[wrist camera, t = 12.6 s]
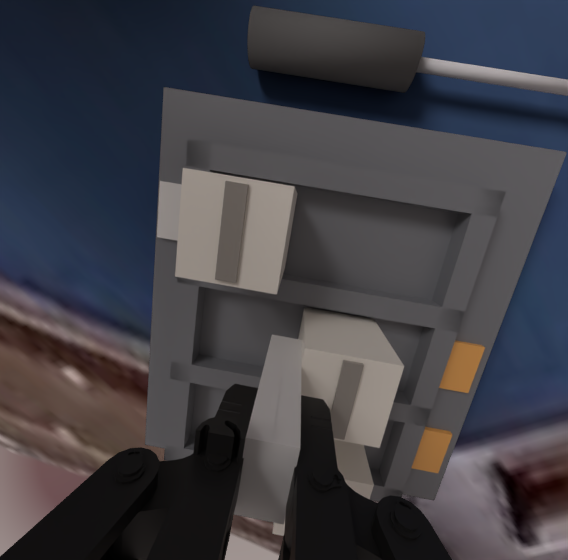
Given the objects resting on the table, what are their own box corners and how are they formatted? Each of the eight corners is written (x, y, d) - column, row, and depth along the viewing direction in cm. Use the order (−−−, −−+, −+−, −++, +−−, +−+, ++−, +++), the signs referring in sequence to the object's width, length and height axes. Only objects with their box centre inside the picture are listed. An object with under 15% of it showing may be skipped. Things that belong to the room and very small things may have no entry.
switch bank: (159, 423, 22) (135, 459, 19) (180, 101, 16) (151, 76, 13) (422, 473, 21) (442, 519, 18) (534, 159, 16) (590, 146, 13)
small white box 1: (214, 256, 16) (173, 277, 11) (221, 181, 15) (180, 166, 10) (284, 268, 16) (276, 295, 11) (297, 194, 15) (294, 186, 10)
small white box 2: (280, 449, 19) (271, 537, 14) (290, 397, 18) (285, 471, 13) (340, 461, 19) (354, 553, 14) (354, 409, 18) (374, 488, 13)
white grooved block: (292, 368, 17) (287, 433, 12) (304, 306, 16) (304, 349, 11) (358, 380, 17) (380, 450, 12) (374, 319, 16) (405, 368, 11)
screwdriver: (253, 76, 16) (245, 53, 13) (260, 25, 15) (252, -8, 13) (565, 126, 15) (612, 111, 13) (585, 75, 15) (637, 50, 12)
